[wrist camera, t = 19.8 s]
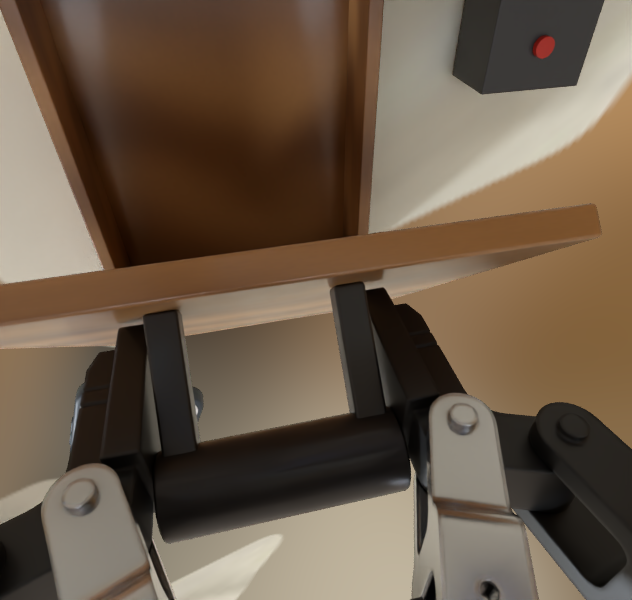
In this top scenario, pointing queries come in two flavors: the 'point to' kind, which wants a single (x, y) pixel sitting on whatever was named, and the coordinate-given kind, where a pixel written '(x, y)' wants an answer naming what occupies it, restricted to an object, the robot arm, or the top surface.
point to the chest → (207, 118)
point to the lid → (262, 307)
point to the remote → (524, 43)
